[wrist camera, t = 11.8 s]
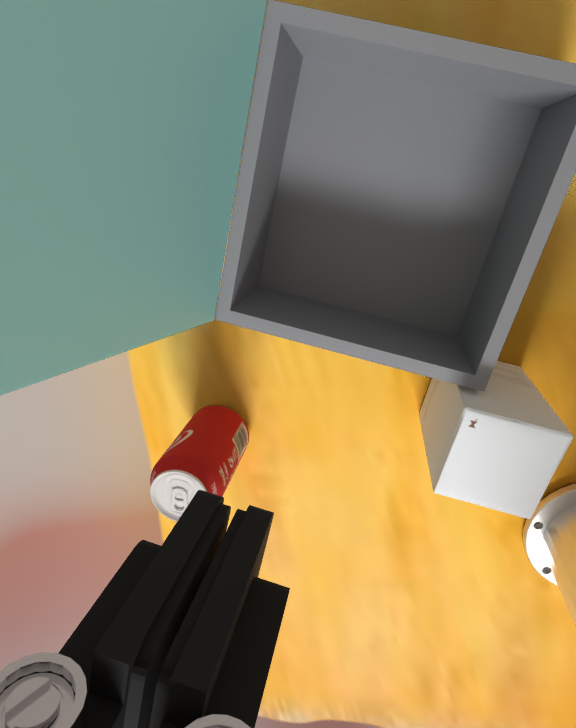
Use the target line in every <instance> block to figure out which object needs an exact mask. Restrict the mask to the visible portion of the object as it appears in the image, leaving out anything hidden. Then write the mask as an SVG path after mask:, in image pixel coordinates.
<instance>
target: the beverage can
mask: <svg viewBox="0 0 576 728" xmlns="http://www.w3.org/2000/svg"><path fill="white" fill-rule="evenodd" d="M248 442H249V432H248V428H247V426H246V424H245V422H244V420H243V419H242V418H241V417H240V416H239V415H238V414H237V413H236V412H235V411H233V410H231V409H229V408H227V407H223V406H217V405H214V406H207V407H204V408H202V409H200V410H199V411H198V412H196V414H195V415H194V416H193V417H192V418H191V420H190V421H189V422H188V424H187V425H186V426H185V427H184V429H183V430H182V431H181V433H180V434H179V435H178V436H177V438H176V439H175V440H174V442H173V443H172V444H171V445H170V447H169V448H168V449H167V450H166V452H165V453H164V454H163V456H162V457H161V458H160V460H159V461H158V462H157V463H156V465H155V466H154V468H153V470H152V473H151V479H150V482H151V489H150V494H151V499H152V501H153V504H154V505H155V507H156V508H157V509H158V511H159V512H161V513H162V514H163V515H164V516H166V517H167V518H169V519H171V520H174V521H177V522H178V520H179V518H180V517H181V515H182V514H183V512H184V511H185V509H186V508H187V506H188V505H189V503H190V501H191V500H192V498H193V497H194V495H195V494H196V492H197V491H198V490H203V491H206V492H209V493H212V494H216V495H219V496H223V494H224V492H225V490H226V488H227V486H228V484H229V482H230V480H231V478H232V476H233V474H234V472H235V470H236V468H237V466H238V464H239V462H240V460H241V458H242V456H243V454H244V452H245V450H246V447H247V445H248Z"/></svg>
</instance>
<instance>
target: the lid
mask: <svg viewBox="0 0 576 728" xmlns="http://www.w3.org/2000/svg"><path fill="white" fill-rule="evenodd" d="M266 3H267V0H0V395H3V394H5V393H9V392H11V391H14V390H17V389H20V388H23V387H26V386H29V385H32V384H34V383H37V382H40V381H43V380H46V379H49V378H51V377H54V376H57V375H60V374H63V373H66V372H69V371H72V370H74V369H77V368H80V367H83V366H86V365H88V364H91V363H94V362H97V361H100V360H103V359H105V358H109V357H111V356H114V355H117V354H120V353H123V352H126V351H128V350H131V349H134V348H137V347H140V346H143V345H146V344H148V343H151V342H154V341H157V340H160V339H163V338H165V337H168V336H171V335H174V334H177V333H180V332H183V331H185V330H188V329H191V328H194V327H197V326H200V325H203V324H205V323H208V322H211V321H214V317H215V311H216V305H217V299H218V293H219V287H220V281H221V275H222V269H223V263H224V257H225V251H226V244H227V238H228V232H229V226H230V220H231V214H232V208H233V202H234V196H235V190H236V184H237V178H238V172H239V166H240V160H241V154H242V148H243V142H244V136H245V130H246V124H247V118H248V112H249V106H250V100H251V94H252V88H253V81H254V75H255V69H256V63H257V57H258V51H259V45H260V39H261V33H262V27H263V21H264V15H265V9H266Z"/></svg>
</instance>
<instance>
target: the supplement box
mask: <svg viewBox="0 0 576 728" xmlns="http://www.w3.org/2000/svg"><path fill="white" fill-rule="evenodd" d="M419 418H420V423H421V428H422V434H423V439H424V444H425V449H426V455H427V460H428V465H429V470H430V476H431V481H432V486H433V491H434V493H436V494H440V495H444V496H447V497H451V498H455V499H458V500H462V501H466V502H469V503H473V504H476V505H480V506H484V507H487V508H491V509H495V510H498V511H502V512H505V513H509V514H512V515H516V516H520V517H523V518H526V519H531V518H532V515H533V514H534V512H535V510H536V508H537V506H538V504H539V502H540V500H541V498H542V496H543V494H544V492H545V490H546V488H547V486H548V484H549V482H550V480H551V478H552V476H553V474H554V473H555V471H556V469H557V467H558V465H559V463H560V462H561V460H562V458H563V456H564V454H565V452H566V451H567V449H568V447H569V445H570V443H571V441H572V440H573V435H572V434H571V432H570V431H569V430H568V428H567V427H566V426H565V424H564V423H563V422H562V421H561V419H560V418H559V417H558V415H557V414H556V413H555V411H554V410H553V409H552V408H551V406H550V405H549V404H548V402H547V401H546V400H545V398H544V397H543V396H542V394H541V393H540V392H539V390H538V389H537V388H536V387H535V385H534V384H533V383H532V381H531V380H530V379H529V377H528V376H527V375H526V373H525V372H524V371H523V369H522V368H521V367H519V366H515V365H512V364H508V363H504V362H500V361H497V362H496V364H495V367H494V369H493V372H492V374H491V376H490V379H489V381H488V384H487V386H486V389H485V391H484V392H483V391H479V390H476V389H472V388H468V387H464V386H461V385H457V384H453V383H449V382H446V381H442V380H438V379H434V378H432V379H431V382H430V385H429V388H428V391H427V393H426V396H425V399H424V401H423V404H422V407H421V410H420V413H419Z"/></svg>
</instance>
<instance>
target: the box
mask: <svg viewBox="0 0 576 728" xmlns="http://www.w3.org/2000/svg"><path fill="white" fill-rule="evenodd" d="M575 172H576V64H575V63H570V62H565V61H561V60H556V59H551V58H546V57H541V56H537V55H532V54H527V53H522V52H518V51H513V50H508V49H503V48H499V47H494V46H489V45H484V44H480V43H475V42H470V41H465V40H460V39H456V38H451V37H446V36H441V35H437V34H432V33H427V32H422V31H418V30H413V29H408V28H403V27H399V26H394V25H389V24H384V23H379V22H375V21H370V20H365V19H360V18H356V17H351V16H346V15H341V14H337V13H332V12H327V11H322V10H318V9H313V8H308V7H303V6H298V5H294V4H289V3H284V2H279V1H275V0H268V2H267V8H266V14H265V20H264V27H263V33H262V39H261V45H260V51H259V57H258V63H257V69H256V75H255V81H254V87H253V93H252V99H251V105H250V111H249V117H248V123H247V129H246V135H245V141H244V147H243V153H242V159H241V165H240V171H239V177H238V183H237V189H236V195H235V201H234V207H233V213H232V219H231V225H230V231H229V237H228V243H227V249H226V255H225V261H224V267H223V273H222V279H221V285H220V291H219V297H218V303H217V309H216V315H215V320H217V321H221V322H225V323H229V324H232V325H236V326H240V327H244V328H247V329H251V330H255V331H259V332H262V333H266V334H270V335H274V336H277V337H281V338H285V339H289V340H292V341H296V342H300V343H304V344H307V345H311V346H315V347H318V348H322V349H326V350H330V351H333V352H337V353H341V354H345V355H348V356H352V357H356V358H360V359H363V360H367V361H371V362H375V363H378V364H382V365H386V366H390V367H393V368H397V369H401V370H405V371H408V372H412V373H416V374H420V375H423V376H427V377H431V378H434V379H438V380H442V381H446V382H449V383H453V384H457V385H461V386H464V387H468V388H472V389H476V390H479V391H483V392H484V391H485V389H486V386H487V384H488V381H489V379H490V376H491V374H492V372H493V369H494V367H495V364H496V362H497V360H498V357H499V355H500V352H501V350H502V348H503V345H504V343H505V340H506V338H507V336H508V333H509V331H510V328H511V326H512V324H513V321H514V319H515V316H516V314H517V311H518V309H519V307H520V304H521V302H522V299H523V297H524V295H525V292H526V290H527V287H528V285H529V283H530V280H531V278H532V275H533V273H534V271H535V268H536V266H537V263H538V261H539V259H540V256H541V254H542V251H543V249H544V246H545V244H546V242H547V239H548V237H549V234H550V232H551V230H552V227H553V225H554V222H555V220H556V218H557V215H558V213H559V210H560V208H561V206H562V203H563V201H564V198H565V196H566V194H567V191H568V189H569V186H570V184H571V181H572V179H573V177H574V174H575Z"/></svg>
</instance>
